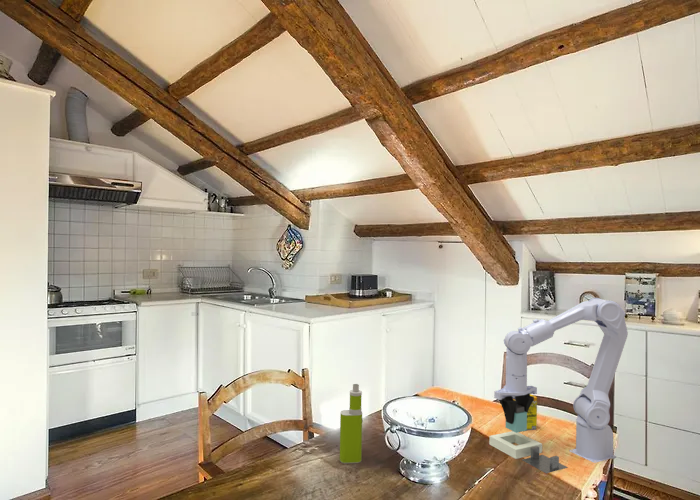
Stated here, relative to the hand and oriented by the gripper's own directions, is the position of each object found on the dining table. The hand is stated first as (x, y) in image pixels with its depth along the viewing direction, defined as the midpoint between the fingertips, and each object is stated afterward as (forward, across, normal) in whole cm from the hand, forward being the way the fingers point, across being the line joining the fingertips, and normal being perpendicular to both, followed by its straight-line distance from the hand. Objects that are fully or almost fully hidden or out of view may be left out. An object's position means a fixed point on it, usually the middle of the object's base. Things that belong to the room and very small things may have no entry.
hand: (515, 421), depth 124 cm
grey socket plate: (+8, 0, +10) cm, 13 cm away
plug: (+2, 0, 0) cm, 2 cm away
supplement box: (+8, -15, -11) cm, 20 cm away
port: (+8, 0, 0) cm, 8 cm away
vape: (+8, +46, -13) cm, 49 cm away
